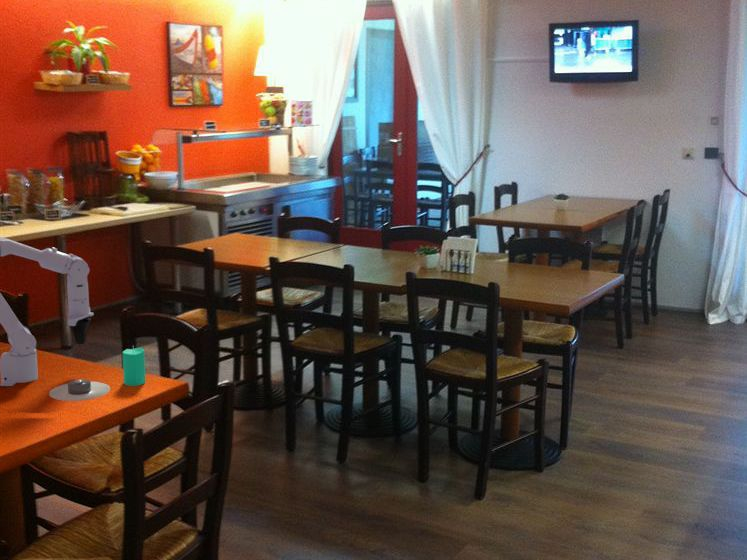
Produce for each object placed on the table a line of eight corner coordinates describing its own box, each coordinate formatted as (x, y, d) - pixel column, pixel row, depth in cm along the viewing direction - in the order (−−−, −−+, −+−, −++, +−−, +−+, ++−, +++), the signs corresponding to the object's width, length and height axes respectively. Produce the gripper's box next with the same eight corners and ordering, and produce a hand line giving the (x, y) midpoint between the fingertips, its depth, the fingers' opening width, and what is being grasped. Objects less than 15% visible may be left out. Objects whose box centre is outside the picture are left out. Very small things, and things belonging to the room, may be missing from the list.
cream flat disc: (40, 404, 239) (40, 400, 239) (61, 385, 255) (60, 381, 255) (100, 405, 240) (100, 401, 239) (117, 385, 255) (117, 381, 255)
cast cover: (65, 394, 244) (64, 384, 243) (72, 387, 250) (71, 377, 249) (87, 395, 244) (86, 384, 243) (93, 387, 250) (93, 377, 249)
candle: (148, 383, 258) (147, 343, 255) (141, 390, 252) (139, 349, 249) (128, 382, 258) (126, 342, 256) (120, 389, 253) (118, 348, 250)
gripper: (84, 304, 253) (86, 350, 256) (99, 292, 267) (101, 336, 270) (59, 304, 253) (62, 350, 256) (75, 292, 267) (78, 336, 270)
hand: (80, 343), depth 263 cm, fingers closed
